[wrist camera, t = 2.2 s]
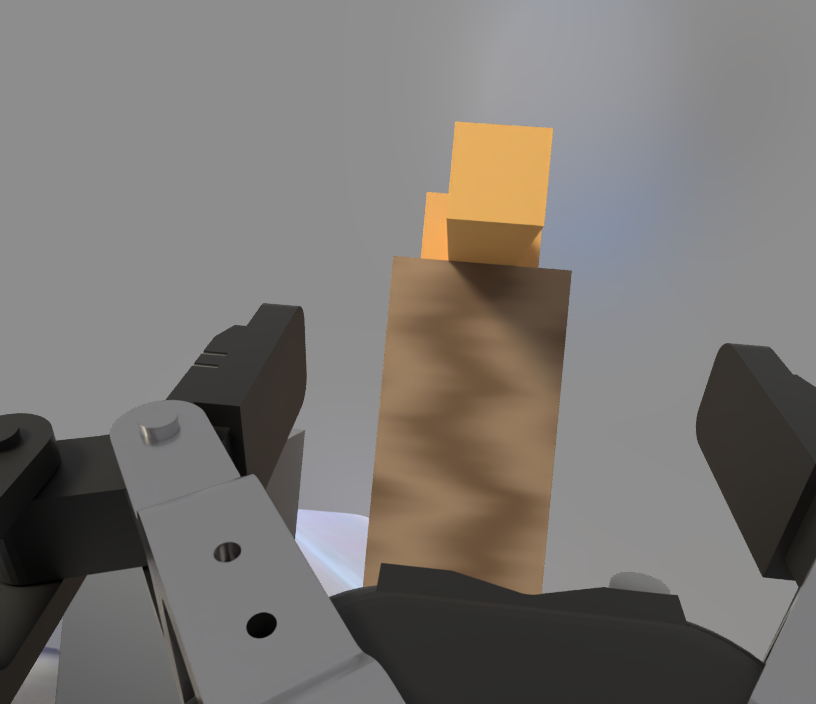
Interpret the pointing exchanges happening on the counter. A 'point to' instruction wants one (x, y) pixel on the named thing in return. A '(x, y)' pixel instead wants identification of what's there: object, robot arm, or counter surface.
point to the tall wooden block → (468, 420)
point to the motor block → (140, 620)
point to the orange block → (491, 197)
